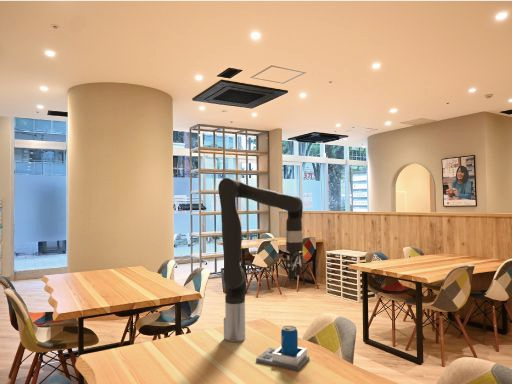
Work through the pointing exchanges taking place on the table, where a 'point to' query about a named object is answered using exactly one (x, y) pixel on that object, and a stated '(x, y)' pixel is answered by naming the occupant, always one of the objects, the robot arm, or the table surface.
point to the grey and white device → (284, 358)
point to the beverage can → (289, 340)
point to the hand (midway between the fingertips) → (294, 276)
